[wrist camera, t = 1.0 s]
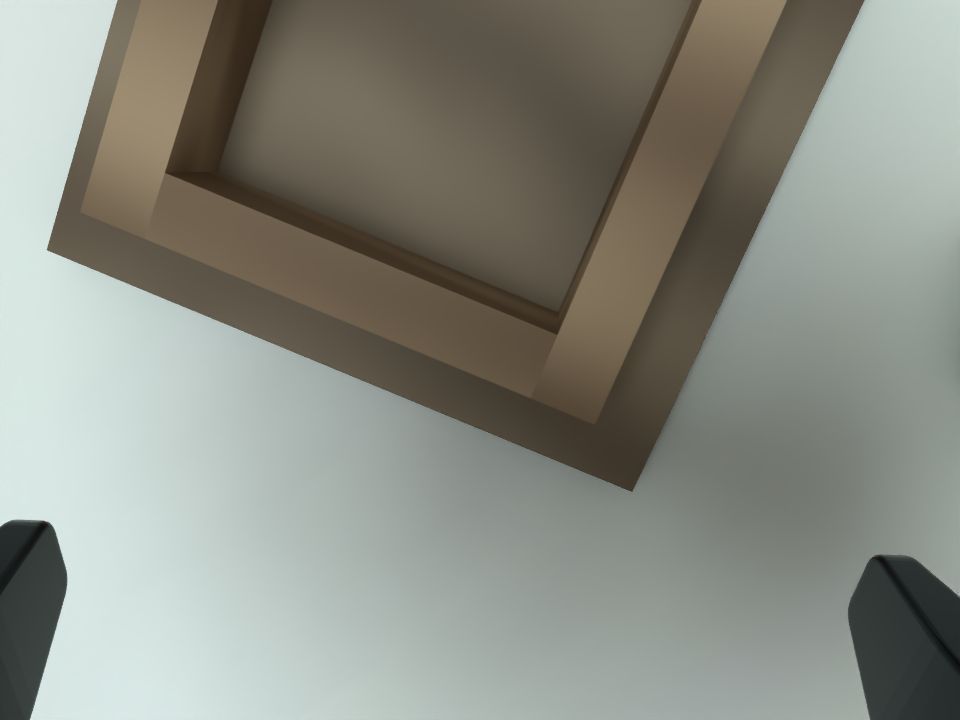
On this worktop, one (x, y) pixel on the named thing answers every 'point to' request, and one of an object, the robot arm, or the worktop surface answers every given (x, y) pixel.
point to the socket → (454, 189)
